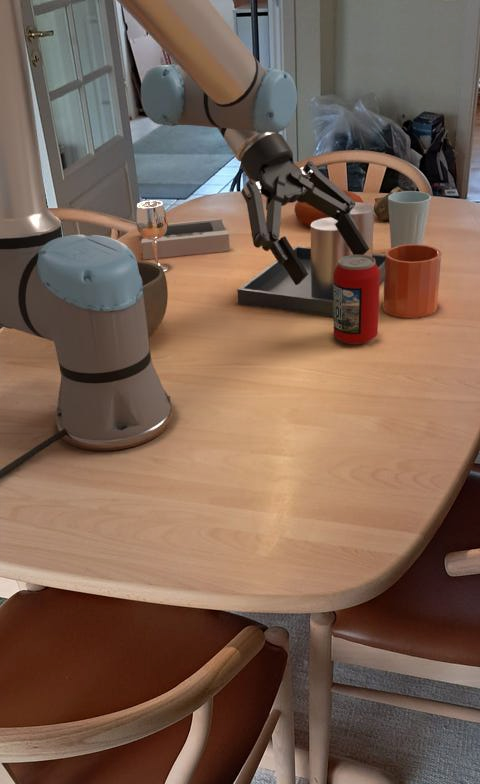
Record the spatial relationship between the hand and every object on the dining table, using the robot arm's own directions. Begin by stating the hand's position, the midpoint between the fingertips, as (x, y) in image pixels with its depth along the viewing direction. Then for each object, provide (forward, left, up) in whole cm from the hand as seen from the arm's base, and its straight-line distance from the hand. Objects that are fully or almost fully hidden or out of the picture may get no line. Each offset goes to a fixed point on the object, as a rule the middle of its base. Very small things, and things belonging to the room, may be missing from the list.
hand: (333, 266), depth 125 cm
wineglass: (+15, +43, -10) cm, 46 cm away
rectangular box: (+30, +46, -10) cm, 56 cm away
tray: (+16, +10, -10) cm, 21 cm away
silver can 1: (+12, +5, -9) cm, 16 cm away
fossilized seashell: (+58, +10, -10) cm, 60 cm away
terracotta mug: (+14, -8, -10) cm, 19 cm away
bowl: (-14, +32, -10) cm, 36 cm away
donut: (+52, +23, -10) cm, 58 cm away
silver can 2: (+21, +5, -9) cm, 23 cm away
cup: (+37, +1, -10) cm, 39 cm away
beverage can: (-2, -4, -10) cm, 11 cm away
